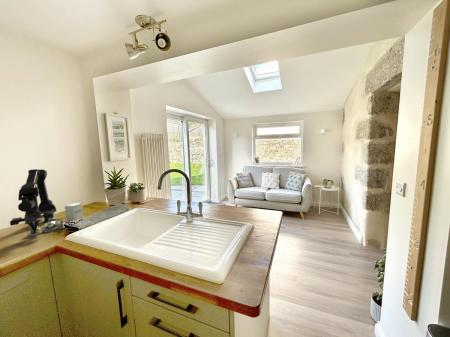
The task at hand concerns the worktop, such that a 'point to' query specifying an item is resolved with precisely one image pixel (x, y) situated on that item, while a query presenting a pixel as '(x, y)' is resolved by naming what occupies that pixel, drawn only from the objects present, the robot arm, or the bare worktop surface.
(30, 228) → the knob
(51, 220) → the knob
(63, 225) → the knob
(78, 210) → the supplement box
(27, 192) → the robot arm
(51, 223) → the tribrach
